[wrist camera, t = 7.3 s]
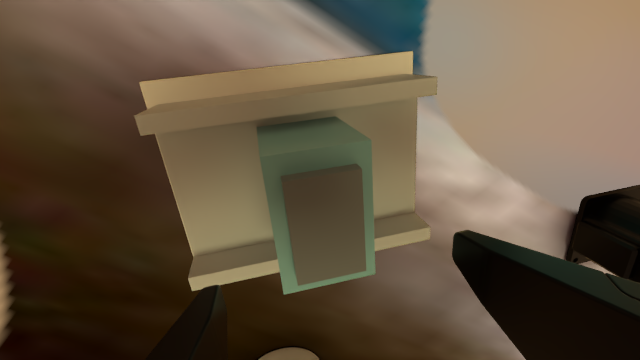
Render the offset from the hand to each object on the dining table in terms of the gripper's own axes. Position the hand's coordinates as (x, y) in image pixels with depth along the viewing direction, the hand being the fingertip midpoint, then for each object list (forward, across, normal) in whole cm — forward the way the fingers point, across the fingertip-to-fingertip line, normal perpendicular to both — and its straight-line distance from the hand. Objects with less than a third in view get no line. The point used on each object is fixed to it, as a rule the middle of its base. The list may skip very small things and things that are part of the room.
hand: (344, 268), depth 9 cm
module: (+8, 0, 0) cm, 8 cm away
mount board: (+10, 0, 0) cm, 11 cm away
